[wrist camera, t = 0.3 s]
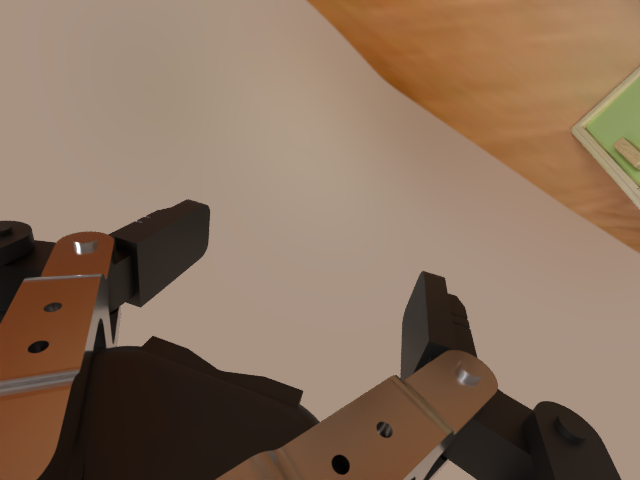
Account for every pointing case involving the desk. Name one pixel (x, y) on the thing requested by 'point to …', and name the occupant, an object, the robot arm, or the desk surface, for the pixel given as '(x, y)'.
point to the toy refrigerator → (616, 135)
